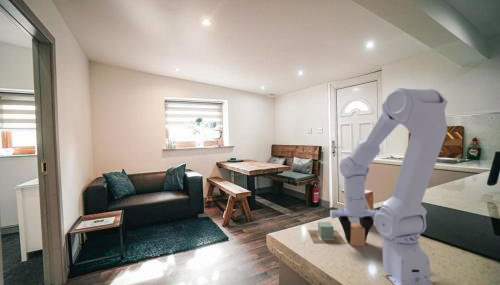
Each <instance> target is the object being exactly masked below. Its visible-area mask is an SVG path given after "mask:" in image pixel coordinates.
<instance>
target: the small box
mask: <svg viewBox="0 0 500 285" xmlns="http://www.w3.org/2000/svg"><path fill="white" fill-rule="evenodd" d="M365 209H368V210H374V191H373V190H368V189H365ZM348 219H349V221H350V222H351V223H359V224H360V221H359V218H349V217H348ZM372 219H373V220H374V218H372ZM372 226H375V223H374V224H373V225H372Z"/></svg>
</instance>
